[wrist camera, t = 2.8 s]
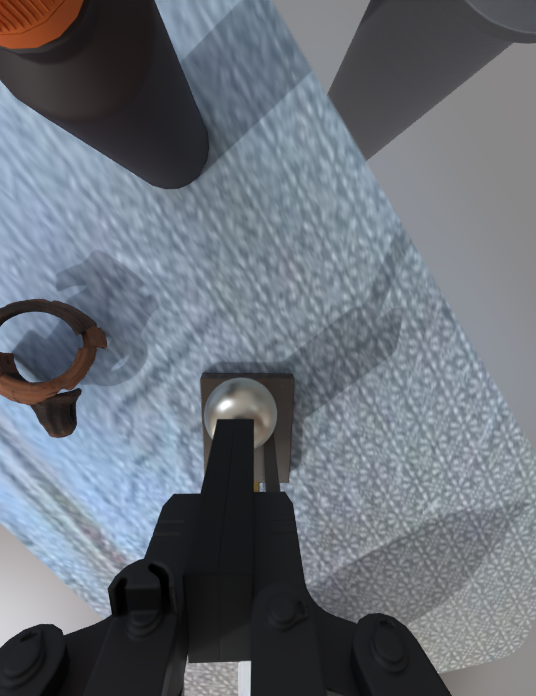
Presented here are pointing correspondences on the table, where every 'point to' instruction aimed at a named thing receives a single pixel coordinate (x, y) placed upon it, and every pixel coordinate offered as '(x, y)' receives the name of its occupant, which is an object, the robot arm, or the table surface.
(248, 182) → the table surface
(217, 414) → the tap lever
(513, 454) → the table surface
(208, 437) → the dark grey lever stand
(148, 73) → the bottle
